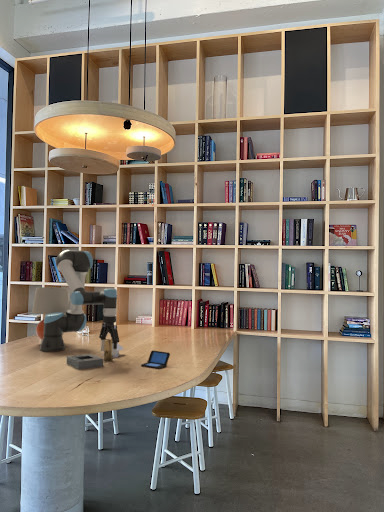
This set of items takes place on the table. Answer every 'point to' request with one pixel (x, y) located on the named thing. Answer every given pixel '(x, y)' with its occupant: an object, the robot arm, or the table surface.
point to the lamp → (49, 304)
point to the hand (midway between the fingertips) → (108, 352)
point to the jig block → (84, 361)
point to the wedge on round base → (117, 350)
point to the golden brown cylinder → (108, 350)
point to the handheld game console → (157, 360)
